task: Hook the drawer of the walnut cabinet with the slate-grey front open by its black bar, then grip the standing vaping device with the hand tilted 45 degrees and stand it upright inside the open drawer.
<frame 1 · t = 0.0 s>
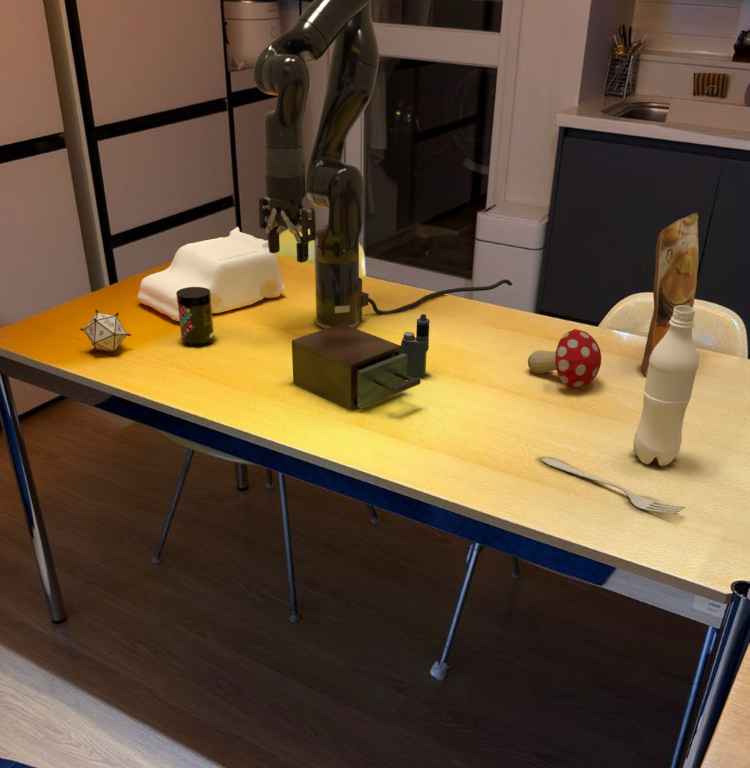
hand: (288, 257, 174), 17 cm above the table, tool pointing down, fingers open, 8 cm apart
game die: (108, 351, 176), on the table
cabinet: (346, 386, 163), on the table
white toy car: (213, 301, 202), on the table
decorative mushroom: (562, 380, 167), on the table
fork: (607, 489, 133), on the table
supplement container: (198, 342, 181), on the table
drawer: (367, 374, 158), point 4 cm above the table, slide at 1.0 cm
water bottle: (653, 459, 141), on the table
vaping device: (413, 375, 168), on the table
pancake mix bag: (661, 364, 175), on the table
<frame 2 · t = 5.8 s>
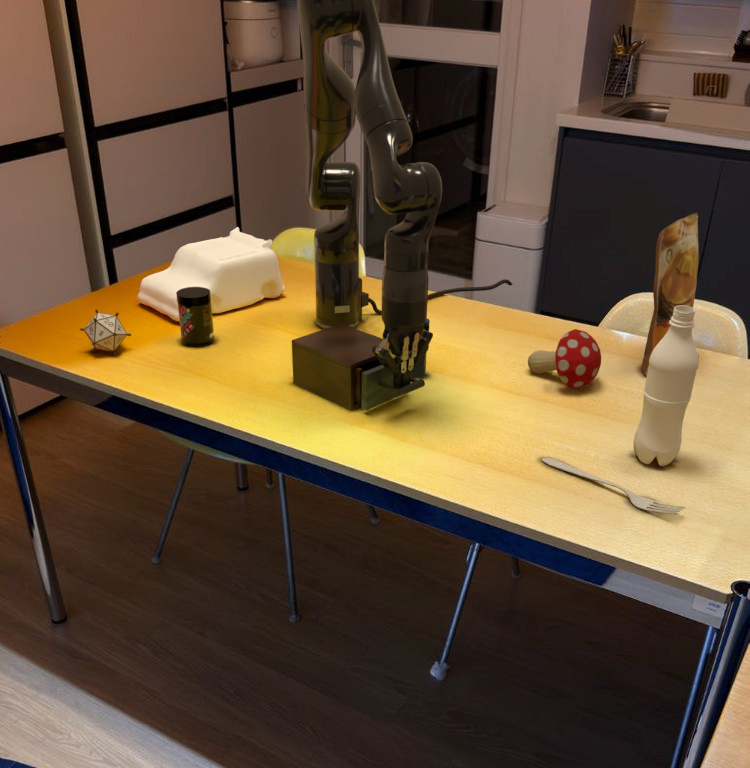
hand: (401, 390, 152), 4 cm above the table, tool pointing down, fingers closed
drawer: (371, 375, 157), point 4 cm above the table, slide at 2.1 cm
everything else where it was.
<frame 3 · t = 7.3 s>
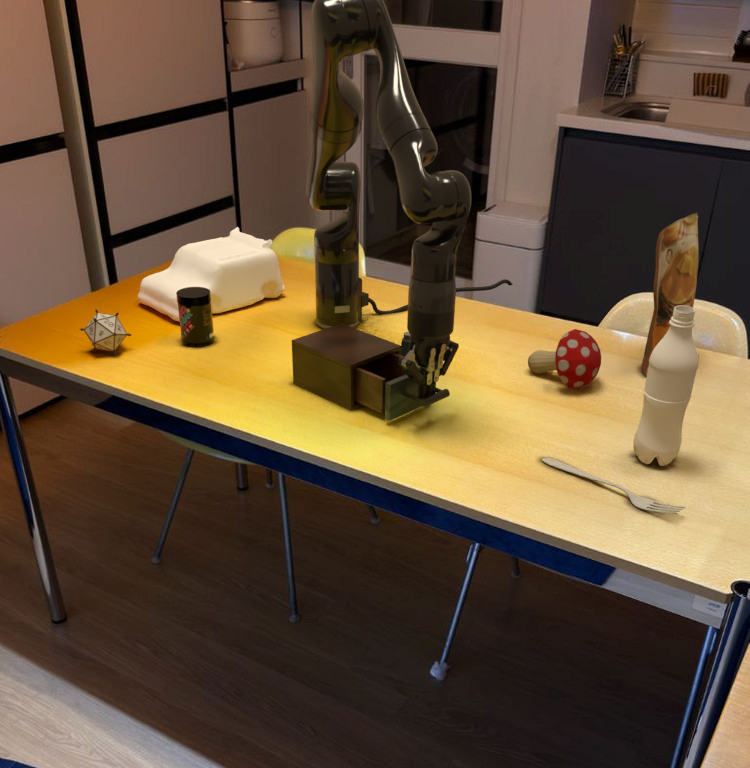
hand: (426, 401, 149), 4 cm above the table, tool pointing down, fingers closed
drawer: (394, 385, 154), point 4 cm above the table, slide at 7.7 cm
everything else where it was.
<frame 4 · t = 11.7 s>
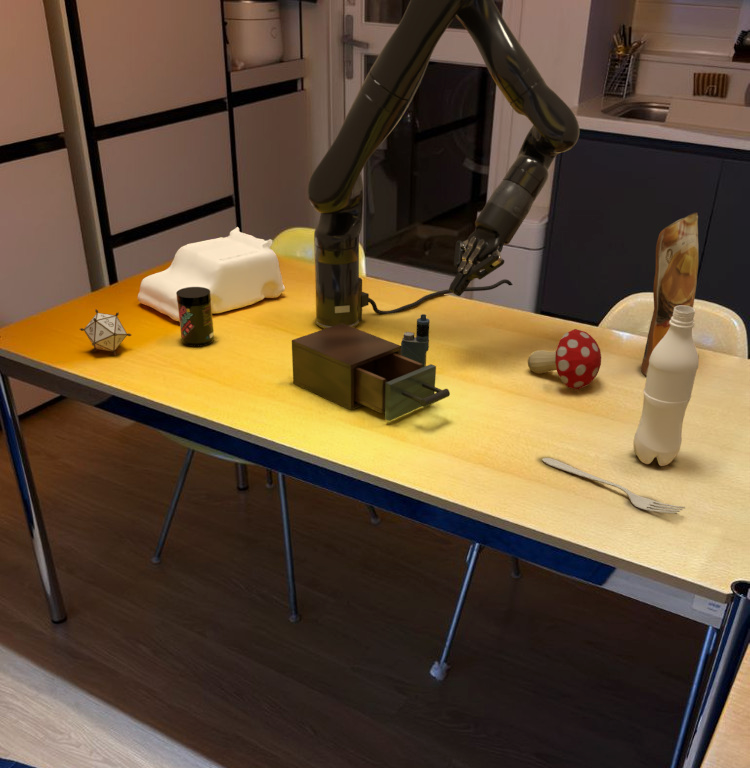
hand: (453, 293, 165), 14 cm above the table, tool tilted 40°, fingers closed
nothing on the table moved.
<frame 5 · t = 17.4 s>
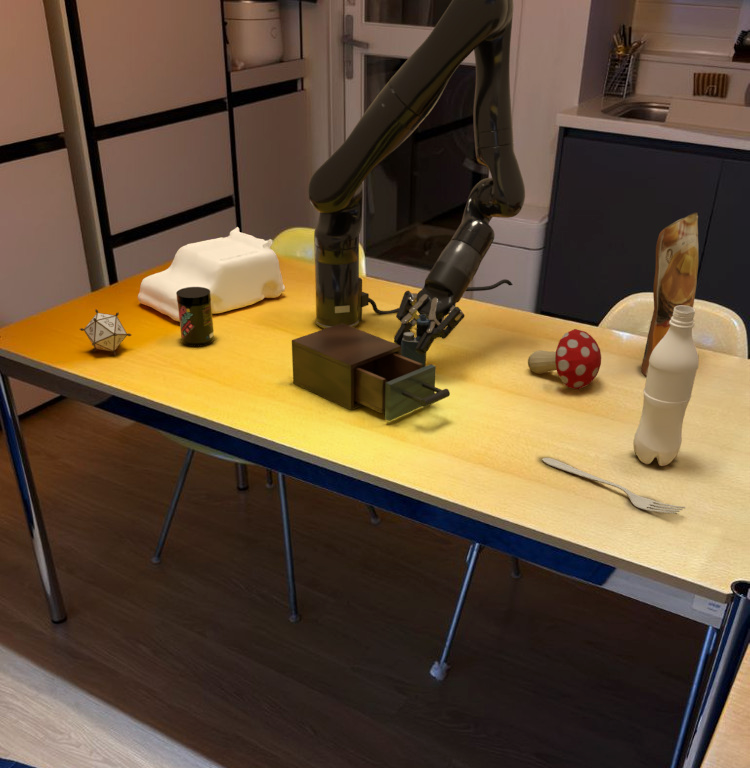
hand: (407, 348, 164), 6 cm above the table, tool tilted 45°, fingers closed on vaping device, 5 cm apart
vaping device: (413, 375, 168), on the table, touching gripper
everything else where it was.
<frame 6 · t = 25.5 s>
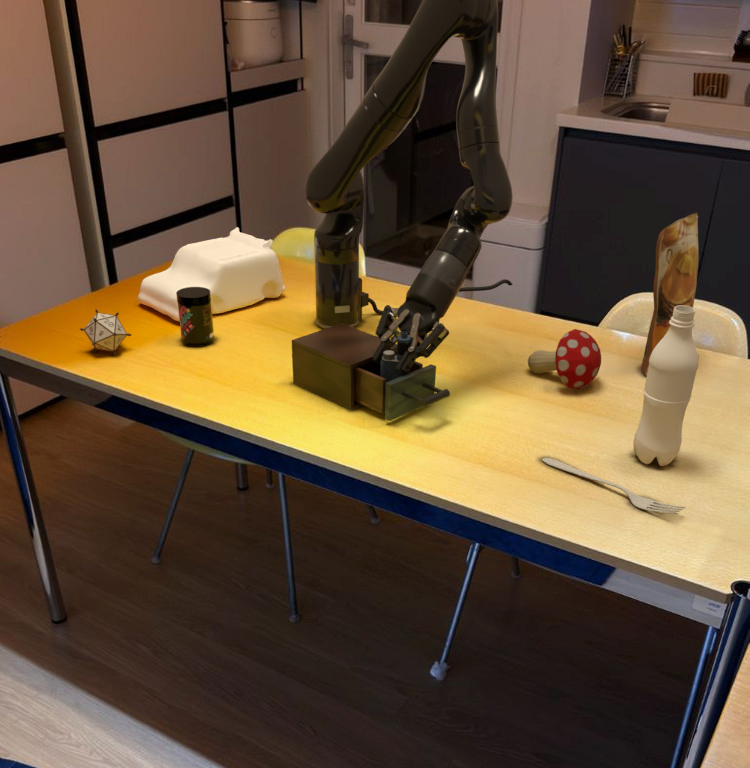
hand: (387, 367, 151), 8 cm above the table, tool tilted 45°, fingers closed on vaping device, 5 cm apart
vaping device: (394, 397, 155), point 2 cm above the table, touching gripper
everything else where it was.
when the fingers open (8 cm above the table, at t = 29.1 s): vaping device stays where it is, resting on drawer.
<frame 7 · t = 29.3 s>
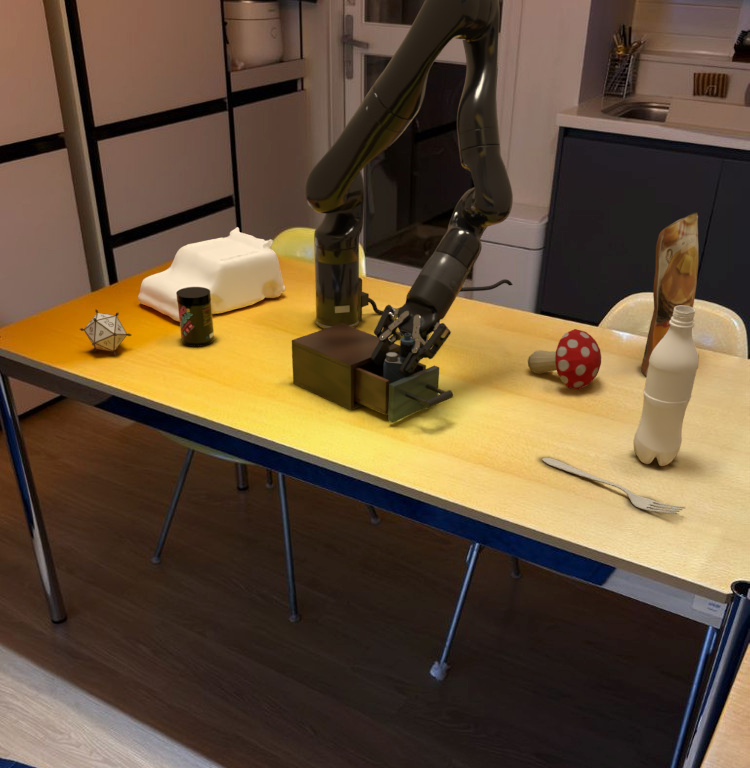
hand: (388, 368, 151), 8 cm above the table, tool tilted 45°, fingers open, 6 cm apart
drawer: (398, 386, 153), point 4 cm above the table, slide at 8.6 cm, touching vaping device
vaping device: (397, 399, 155), point 2 cm above the table, touching drawer
everything else where it was.
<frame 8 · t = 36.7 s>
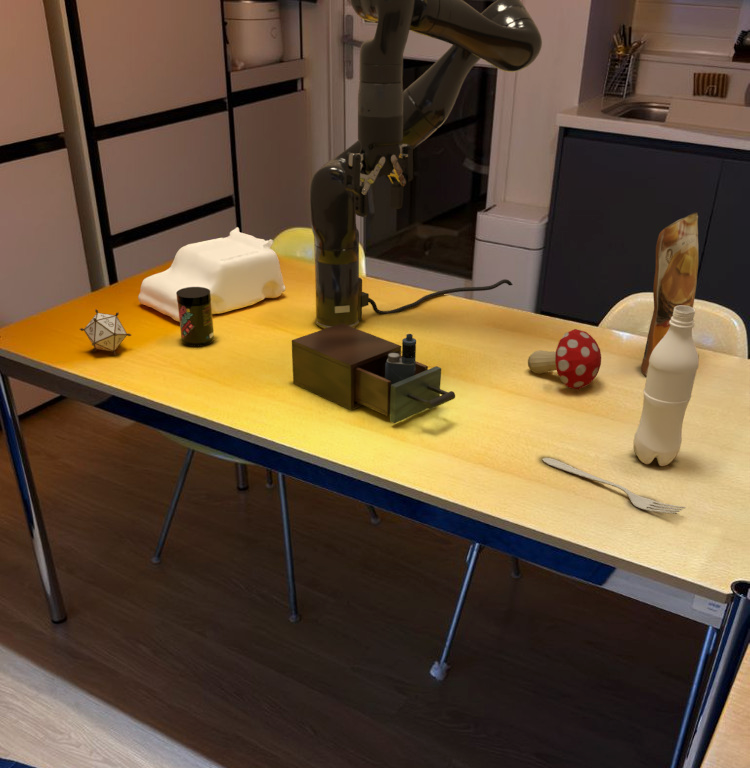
hand: (379, 211, 153), 30 cm above the table, tool pointing down, fingers open, 8 cm apart
drawer: (399, 387, 153), point 4 cm above the table, slide at 9.0 cm, touching vaping device
everything else where it was.
at the end: drawer slide at 9.0 cm; vaping device inside the target area in the drawer (1.4 cm from its centre), point 1.8 cm above the cabinet's base; vaping device tilted 0° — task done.
